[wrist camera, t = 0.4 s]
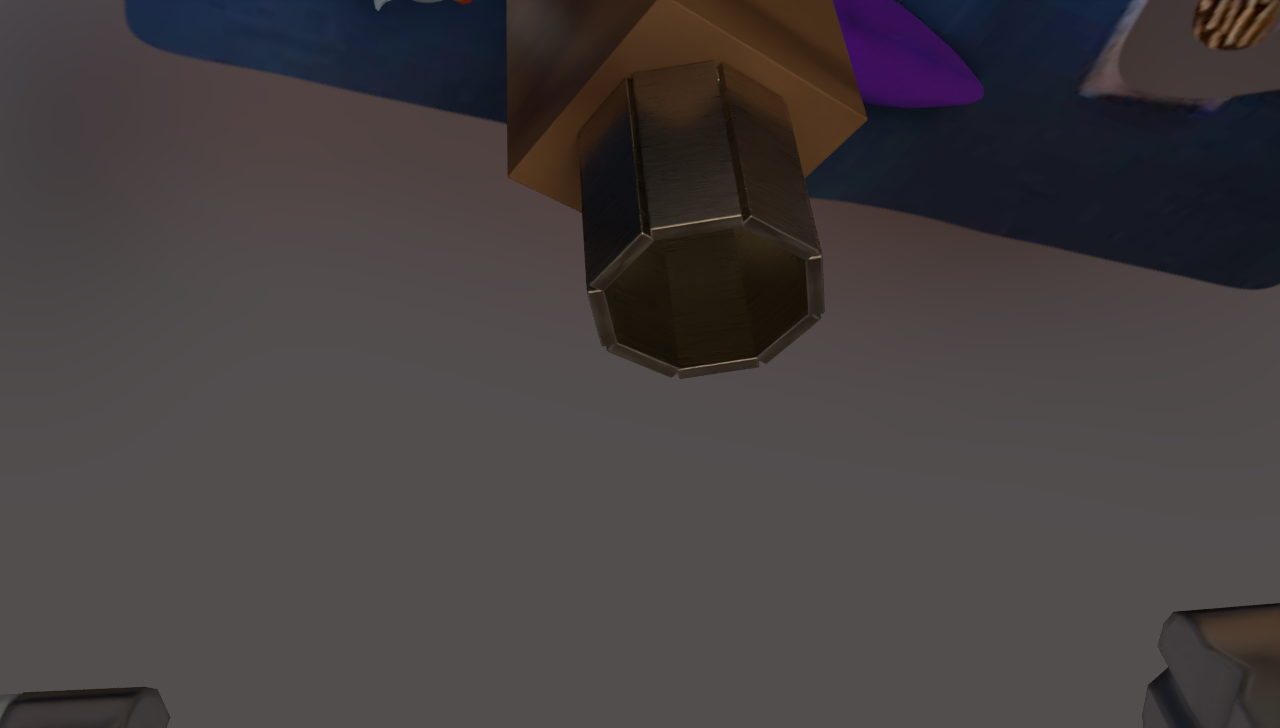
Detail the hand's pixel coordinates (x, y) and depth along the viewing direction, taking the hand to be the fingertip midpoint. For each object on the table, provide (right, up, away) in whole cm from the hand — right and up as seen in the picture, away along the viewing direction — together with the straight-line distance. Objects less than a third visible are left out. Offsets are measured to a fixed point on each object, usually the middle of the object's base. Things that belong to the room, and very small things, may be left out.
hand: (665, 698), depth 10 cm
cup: (+2, +11, +37) cm, 39 cm away
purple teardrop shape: (+13, +21, +58) cm, 63 cm away
